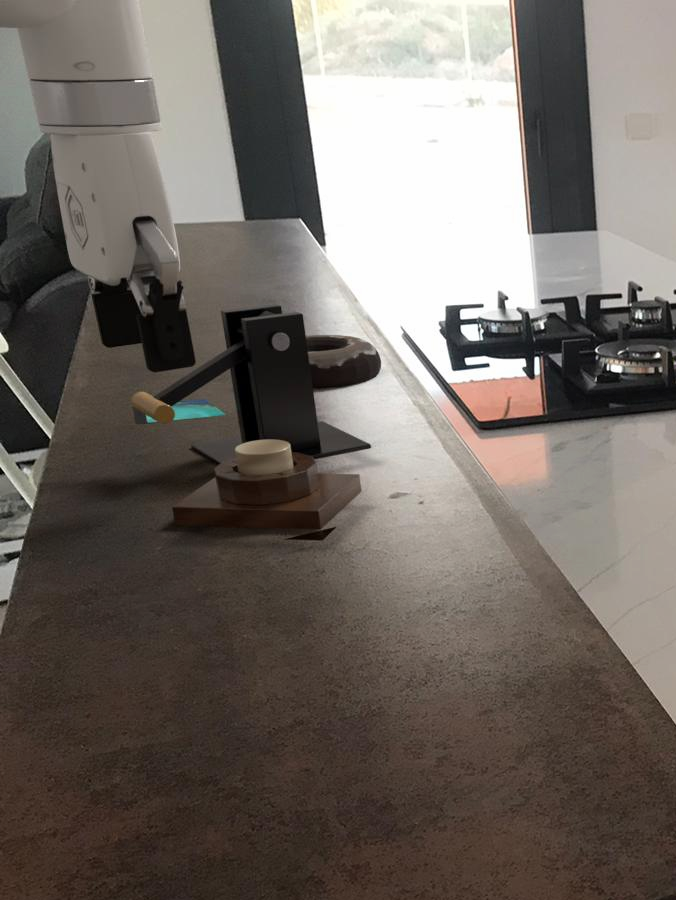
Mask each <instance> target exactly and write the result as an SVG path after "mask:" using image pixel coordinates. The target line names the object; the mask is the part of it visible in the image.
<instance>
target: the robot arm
mask: <svg viewBox="0 0 676 900" xmlns="http://www.w3.org/2000/svg"><path fill="white" fill-rule="evenodd" d="M142 17H143V16H142V12H141V7H140V1H139V0H0V28H2V29H3V28H7V29H17V32H18V39H19V42H20V47H21V51H22V56H23V59H24V64H25V69H26V73H27V77H28V78H27V79H29V80H28V82H29V87H30V91H31V96H32V100H33V101H32V102H33V106H34V110H35V114H36V119H37V123H38V127H39V132H40V133H41V134H42V133H43V134H45V135H50V147H51V148H50V149H51V157H52V165H53V172H54V173H53V174H54V179H55V180H54V181H55V185H56V192H57V197H58V203H59V208H60V215H61V220H62V227H63V232H64V237H65V243H66V248H67V253H68V258H69V261H70V263H71V266H72V267H73V268H74V269H75V270H77V271H78V272H80V273H81V274H83V275H86V276H87V280H88V286H89V289H90V291H91V292H92V293H91V294H90V295H91V299H92V300H91V301H92V305H93V309H94V315H95V318H96V321H97V326H98V328H97V329H98V332H99V337H100V341H101V344H102V345H103V346H105V347H106V348H108V349H112V348H118V347H125V346H132V345H139V344H141V347H142V352H143V356H144V361H145V367H146V369H147V370H148V371H150V372H152V373H161V372H167V371H174V370H181V369H186V368H192V367H195V365H196V363H197V362H196V361H197V359H196V355H195V351H194V344H193V339H192V334H191V329H190V323H189V318H188V317H189V316H188V312H187V302H186V298H185V297H184V294H183V290H184V285H182V284H183V281H182V280H180V271H181V259H180V249H179V244H178V239H177V233H176V228H175V227H176V226H175V223H174V218H173V213H172V208H171V203H170V200H169V199H170V198H169V195H168V191H167V186H166V183H165V179H164V178H165V177H164V174H163V170H162V167H161V162H160V159H159V156H158V152H157V149H156V143H155V141H154V137H153V132H160V131H162V130H163V125H162V121H161V120H162V119H161V114H160V107H159V103H158V99H157V92H156V86H155V82H154V78H153V72H152V67H151V61H150V56H149V51H148V44H147V40H146V33H145V30H144V29H145V28H144V22H143V18H142ZM145 286H148V288H149V289H148V292H147V290H146V287H145Z"/></svg>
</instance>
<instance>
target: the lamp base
mask: <svg viewBox="0 0 676 900" xmlns="http://www.w3.org/2000/svg"><path fill="white" fill-rule="evenodd" d="M292 459H293V466H294V467H293V468H292V469H290V470H286V471H283V472H280V473H272V474H264V475H244V474H241V473H238V467H237V461H236V458H233V459H229V460H226V461H224V462H222V463H221V464H220V465H218V464H217V465H216V466H215V467H214V469H213V472H214V477H213V478H211V480H208V481H207V482H206V483H205V484H203V485H202V486H200V487H199V488H197V489H196V490H194V491H193V492H192V493H190V494H188V495H187V496H185V498H183V499H181V500H180V501H179V502H177V503H176V504H174V505H173V506H172V507H171V508H172V509H171V510H172V514H173V519H174V525H175V526H192V527H195V526H196V527H226V528H227V527H228V528H229V527H230V528H231V527H232V528H259V529H260V528H263V529H265V528H266V529H295V530H296V529H297V530H298V529H299V530H300V529H302V530H303V529H304V530H317V531H313V532H312V531H311V532H309V533H304V534H300V535H294V536H291V537H286V538H282V540H285V541H317V542H318V541H321V542H322V541H324V540H325V539H326V538H327V537H328V536H329V535H330V534H332V532H333V531H334V530H336V529H337V526H334V527H329V528H325V529H323V528H324V527H325V526H326V525H327V524H329V522H331V521H332V520H333V519H334V518H335V517H336V516H337V515H339V514H340V512H341V511H342V510H343V509H345V508H346V507H347V506H348V505H349V504H350V503H351V502H352V501H353V500H354V499H355V498H357V496H358V495H360V493H362V484H361V475H360V474H359V473H357V474H354V473H321V472H320V473H319V472H318V465H317V462H316V459H314V458H313V457H312V456H308V455H304V454H300V453H295V452H292Z"/></svg>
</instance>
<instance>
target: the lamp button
mask: <svg viewBox="0 0 676 900" xmlns="http://www.w3.org/2000/svg"><path fill="white" fill-rule="evenodd" d="M235 455H236V461H237V467H238V473H241V474H244V475H264V474H272V473H280V472H283V471H286V470H290V469H292V468H293V467H294V466H293V459H292V452H291V445H290V444H289V443H288V442H286V441H282V440H273V439H268V440H256V441H251V442H246V443H243V444H241V445H239V446H237V447H236V448H235Z"/></svg>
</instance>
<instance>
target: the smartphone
mask: <svg viewBox="0 0 676 900" xmlns="http://www.w3.org/2000/svg"><path fill="white" fill-rule="evenodd" d="M171 407H172V408H173V410H174V412H175V417H174V419H173V421H172V422H177V421H187V420H197V419H198V420H199V419H206V418H215V417H225V416H227V414H226V413H225V412H223V411H222V410H221V409H219V408H218V407H216V406H215V405H214V404H212V402H210V401H208V400H207V399H206V398H203V399H190V400H188V399H187V400H181V401H179V402H178V403H176V404H175V405H173V406H171ZM132 411H133V418H134V423H135V424H136V425H147V424H148V425H149V424H160V423H159V422H157V421H156V420H154V419H152V418H151V417H149V416H147V415H146V414H144V413H142V412H141V411H139V410H137V409H136V408H134V406H132Z"/></svg>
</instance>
